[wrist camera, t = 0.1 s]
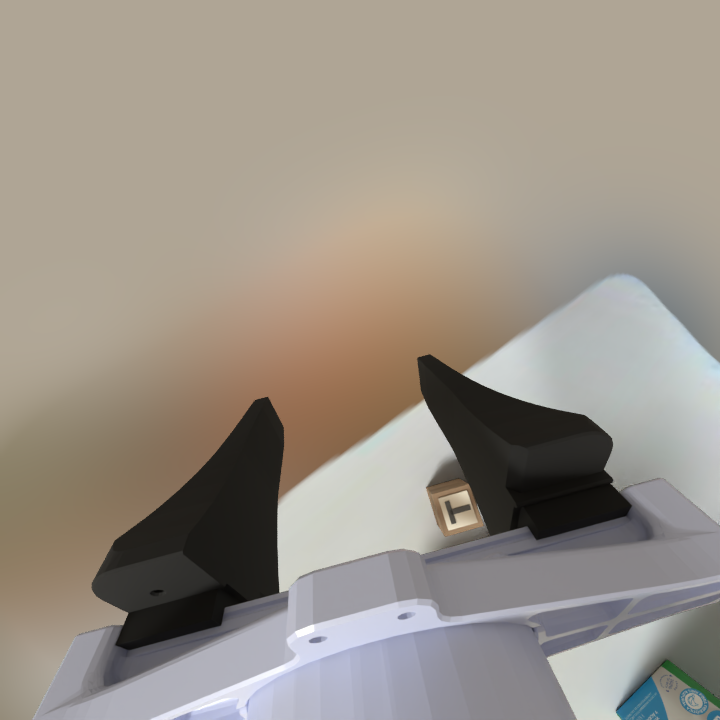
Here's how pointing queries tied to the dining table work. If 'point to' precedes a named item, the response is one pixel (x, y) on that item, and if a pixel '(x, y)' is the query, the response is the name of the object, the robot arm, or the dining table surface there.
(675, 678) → the milk carton
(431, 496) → the letter cube
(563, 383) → the dining table surface
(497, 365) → the dining table surface
